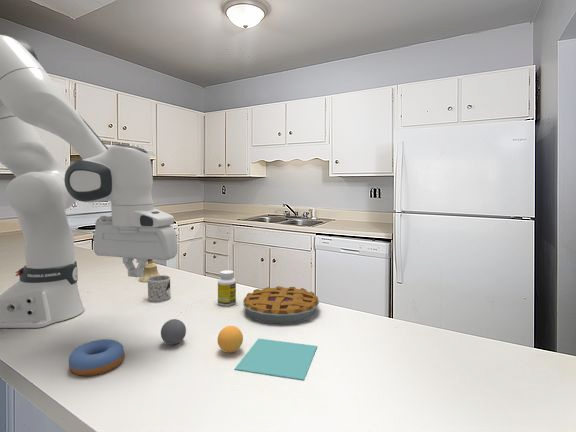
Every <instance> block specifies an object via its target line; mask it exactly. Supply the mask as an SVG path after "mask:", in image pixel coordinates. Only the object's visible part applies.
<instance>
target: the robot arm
mask: <svg viewBox="0 0 576 432" xmlns="http://www.w3.org/2000/svg"><path fill="white" fill-rule="evenodd" d="M35 127H36V128H39V129H41V130H44V131H46V132H49V133H51V134H53V135H55V136H57V137H58V138H60V139H62V140H64V141H65V142H66V143H68V144H69V145H70V146H71V148H73V149H74V151H75V152H76V154H78V155H79V156H80V157H81V160H76V161H74V162H72V163H71V164H70V165H69V166H68V167H67V169H66V170H65V168H64V167H63V166H62V164H61V163H60V161H59V160H58V159H57V158H56V157H55V156H54V154H53V152H51V150H50V149H49V148H48V146H47V145H46V143H45V142H44V140H43V139H42V137H41V136H40V134H39V133H38V131H37V129H36V128H35ZM0 164H1V165H3V167H5V168H7V169H8V170H9V171H10V172H11V173H12V174H13V175H14V178H13V179H12V180H10V181H9V183H8V184H7V186H6V189H5V198H6V201H7V203H8V204H9V207H11V208H12V209H13V210H14V212H15V214H16V217H17V220H18V223H19V226H20V229H21V231H22V236H23V240H24V242H23V243H24V252H25V265H24V266H23V267H21V268H20V269H18V270H17V271H16V272H15V273H16V274H15V277H19V279H18V281H17V282H15V283H14V284H12V286H10V287H9V288H7V289H6V290H5V291H4V292H2V293H1V294H0V329H2V328H3V329H8V328H9V329H10V328H11V329H13V328H14V329H21V328H23V329H29V328H30V329H34V328H35V329H38V328H43V327H47V326H49V325H51V324H54V323H58V322H62V321H65V320H70V319H72V318H74V317H76V316H80V314H82V313H83V312H84V311H85V307H84V304H83V302H82V299H81V296H80V291H79V286H78V278H79V270H78V263H77V261H76V258H75V257H76V256H75V255H76V254H75V240H74V239H75V237H74V232H73V231H72V230H71V227H70V224H69V221H68V218H67V217H68V216H67V214H66V210H68V209H69V208H71V207H72V206H74V204H75V203H76V202H78V201H79V202H83V203H104V202H110V204H111V205H110V206H111V207H110V209H111V215H110V216H107V215H101V216H99V217H98V218H97V219H96V220H95V223H94V224H95V229H94V232H93V234H94V235H93V253H95V255H96V256H99V257H113V258H122V263H123V264H124V267H125V268H126V270H127V277H132V278H140V277H142V276H143V275H144V272H143V270H144V267H145V265H146V264H147V263H148V259H152V260H153V261H154V260H156V261H157V260H158V261H169V260H171V259H172V260H173V259H174V258H176V256H177V255H178V240H177V232H176V229H175V227H174V226H173V224H174V223H175V217H174V216H173V215H172V214H169V213H168V212H164V211H162V210H160V209H157V208H155V205H154V204H155V203H154V200H153V195H152V190H153V187H154V181H153V180H154V178H153V168H152V167H153V166H152V161H151V157H150V154H149V152H148V151H147V150H146V149H144V148H143V147H139V146H138V147H137V146H132V145H127V144H124V143H115V144H112V145H111V146H110V147H107V145H106V144H105V143H104V142H103V140H101V138H100V137H99V136H98V134H97V133H96V132H95V130H93V128H92V127H91V126H90V125H89V124H88V122H86V120H85V119H84V118H83V117H82V116H81V115H80V114H79V113H78V111H77V109H75V107H73V105H72V104H71V103H70V102H69V101H68V99H67V98H66V96H65V95H64V93H62V92H61V89H59V87H58V86H57V85H56V83H55V82H54V81H53V79H52V78H51V77H50V75H49V74H48V72H47V71H46V69H44V67H43V66H42V65H41V64H40V62H39V59H38V55H37V54H36V51H35V50H34V49H33V47H32V46H31V45H30V44H29V43H28V42H27V41H26V40H24V39H22V38H19V37H15V36H8V35H4V34H0ZM135 259H136V262H135V263H137V267H136V266H135V264H134V260H135Z"/></svg>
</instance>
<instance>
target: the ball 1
mask: <svg viewBox="0 0 576 432" xmlns="http://www.w3.org/2000/svg"><path fill="white" fill-rule="evenodd" d="M186 334H187V328H186V325H185V323H184V322H183V321H182V320H180V319H176V318H173V319H169V320H167V321H166V322H164V324H163V325H162V326H161V329H160V337H161V339H162V341H163V342H164V343H166V344H168V345H176V344H179V343H181V342H182V341H183V340H184V338H185V337H186Z"/></svg>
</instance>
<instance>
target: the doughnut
mask: <svg viewBox="0 0 576 432" xmlns="http://www.w3.org/2000/svg"><path fill="white" fill-rule="evenodd" d="M124 348H125V347H124V345H123V344H122V343H121V342H119V341H118V340H115V339H110V338H109V339H108V338H107V339H97V340H92V341H91V340H90V341H89V342H86V343H84V344H82V345H80V346H78V347H76V348H75V349H74V350H72V352H71V353H70V355H69V357H68V366H69V369H70V371H72V373H74V374H75V375H79V376H82V377H83V376H90V377H91V376H97V375H101V374H104V373H107V372H109V371H112V370H114V369H115V368H117V367H118V366H119V365H120V364H121V363H122V362H123V360H124V358H125V354H126V353H125V349H124Z"/></svg>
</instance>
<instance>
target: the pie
mask: <svg viewBox="0 0 576 432" xmlns="http://www.w3.org/2000/svg"><path fill="white" fill-rule="evenodd" d="M242 304H243V305H242V306H243V307H244V308H245V309H246V311H247V313H248V315H249V317H251V318H252V319H253V320H257V321H259V322H263V323H268V324H269V323H272V324H291V323H292V324H293V323H295V324H296V323H299V322H303V321H307V320H308V319H309V318H311V317H312V315H314V312H315V310H316V309H318V307H319V304H320V300H319V298H318V296H317V295H315V293H314V292H313V291H307V289H305V288H303V287H301V288H296V287H295V286H290V287H284V286H276V287H269V286H267V287H264V288H263V289H259V288H257V289H254V290H253V292H248V293H246V296H244V299H243V301H242Z"/></svg>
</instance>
